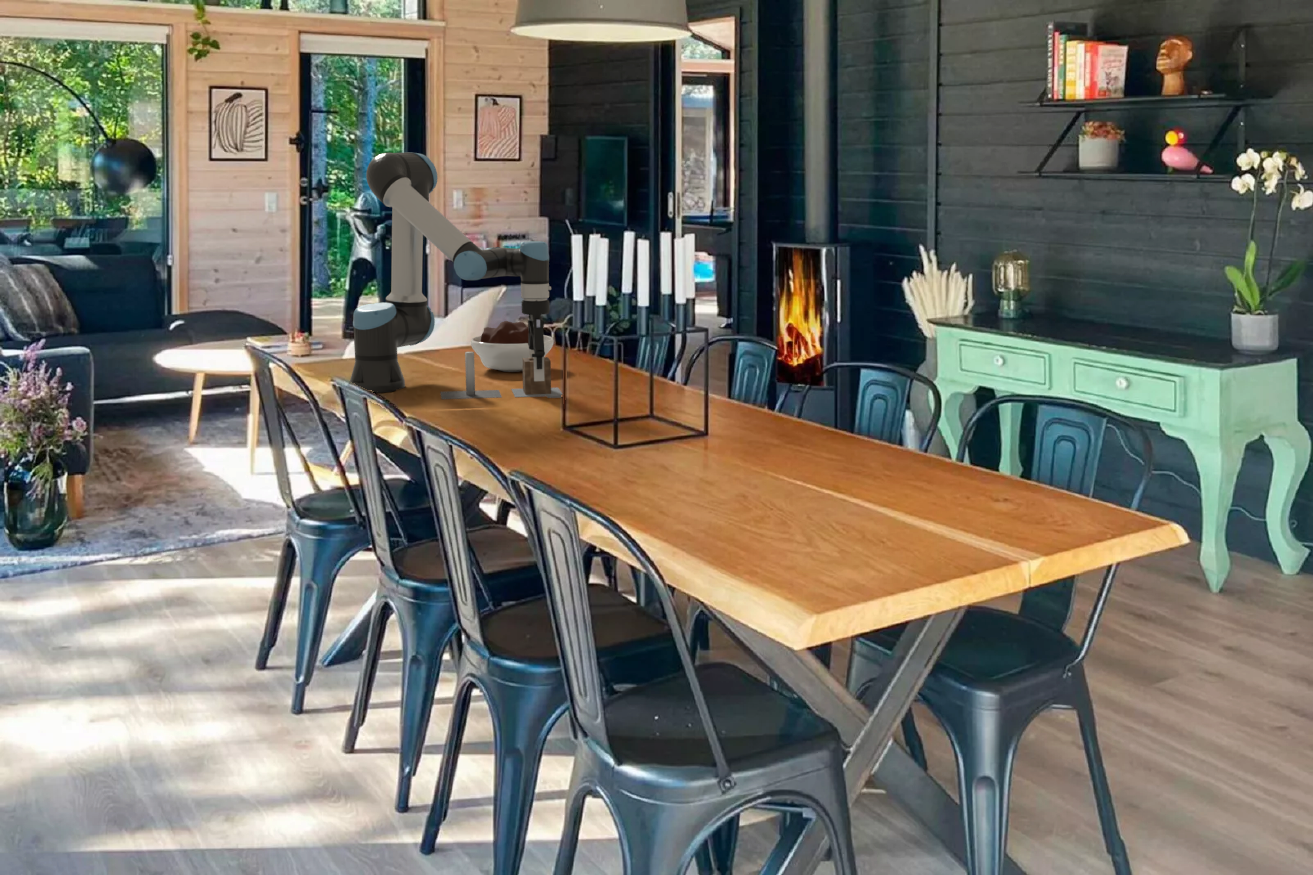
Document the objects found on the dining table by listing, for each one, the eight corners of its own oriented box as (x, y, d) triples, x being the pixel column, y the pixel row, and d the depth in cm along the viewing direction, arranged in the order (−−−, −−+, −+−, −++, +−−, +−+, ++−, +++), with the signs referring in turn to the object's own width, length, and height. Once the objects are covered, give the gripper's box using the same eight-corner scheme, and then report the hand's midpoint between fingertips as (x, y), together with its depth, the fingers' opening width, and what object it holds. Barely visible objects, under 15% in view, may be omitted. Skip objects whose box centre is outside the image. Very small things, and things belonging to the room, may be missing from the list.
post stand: (441, 401, 375) (440, 356, 373) (440, 393, 387) (438, 350, 384) (502, 399, 378) (501, 354, 376) (498, 391, 390) (497, 348, 387)
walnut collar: (525, 394, 382) (524, 361, 380) (523, 390, 388) (522, 357, 386) (551, 393, 383) (550, 360, 381) (548, 389, 390) (547, 357, 388)
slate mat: (515, 399, 378) (515, 396, 378) (511, 391, 391) (511, 388, 391) (563, 397, 381) (563, 395, 380) (558, 389, 393) (558, 387, 393)
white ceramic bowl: (492, 362, 444) (491, 314, 441) (566, 366, 436) (565, 317, 433) (457, 374, 421) (455, 323, 418) (534, 378, 413) (533, 326, 410)
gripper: (554, 303, 369) (555, 383, 373) (544, 294, 393) (545, 369, 397) (525, 304, 368) (527, 384, 372) (517, 294, 392) (519, 370, 396)
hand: (536, 377), depth 385 cm, fingers open, 13 cm apart
